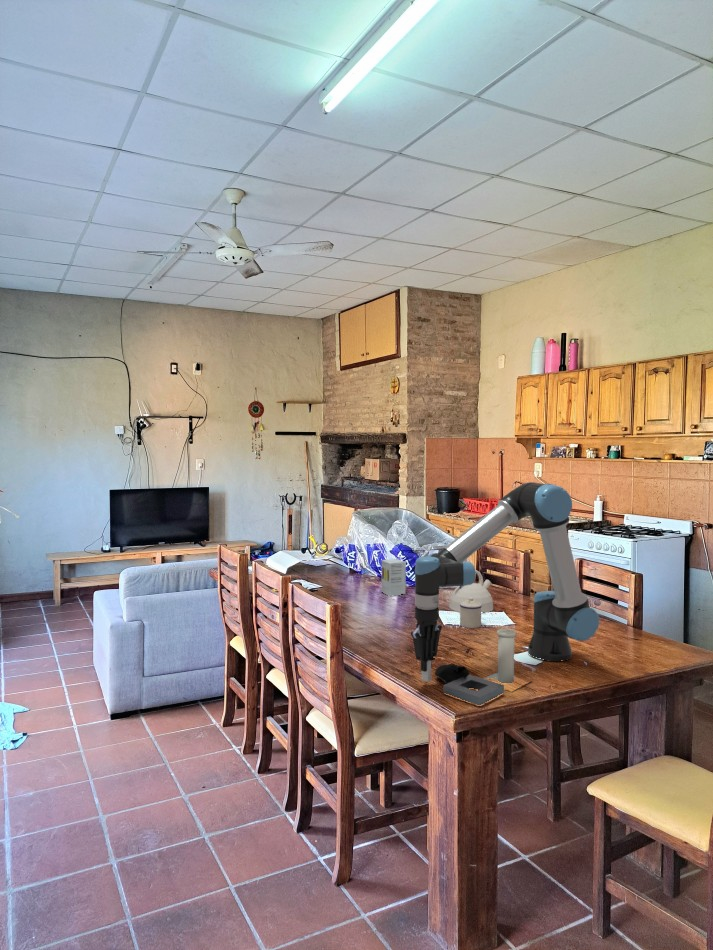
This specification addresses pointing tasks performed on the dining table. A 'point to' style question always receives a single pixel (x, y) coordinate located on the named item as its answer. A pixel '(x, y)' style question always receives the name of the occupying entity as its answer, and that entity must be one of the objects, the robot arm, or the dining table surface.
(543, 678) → the dining table surface
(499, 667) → the cream upright pillar
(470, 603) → the teacup with lid
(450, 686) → the housing
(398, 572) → the supplement box
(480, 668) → the dining table surface
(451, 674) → the rock
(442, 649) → the dining table surface
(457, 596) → the kettle
